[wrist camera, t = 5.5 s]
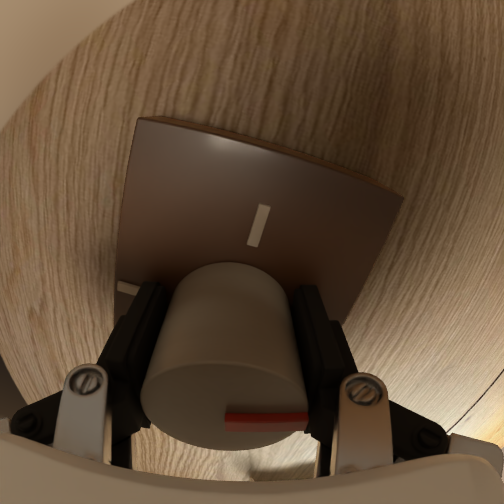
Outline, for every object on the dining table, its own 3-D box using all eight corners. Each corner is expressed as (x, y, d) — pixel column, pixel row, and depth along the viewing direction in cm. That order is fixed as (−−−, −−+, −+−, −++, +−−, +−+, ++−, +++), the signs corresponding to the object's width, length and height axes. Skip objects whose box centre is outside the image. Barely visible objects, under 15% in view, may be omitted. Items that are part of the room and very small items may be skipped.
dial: (177, 352, 12) (155, 452, 7) (165, 258, 10) (117, 362, 6) (282, 356, 12) (295, 458, 8) (296, 263, 10) (328, 372, 6)
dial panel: (159, 115, 10) (134, 116, 8) (377, 180, 11) (407, 199, 9) (128, 346, 15) (114, 381, 13) (282, 380, 16) (286, 417, 14)
